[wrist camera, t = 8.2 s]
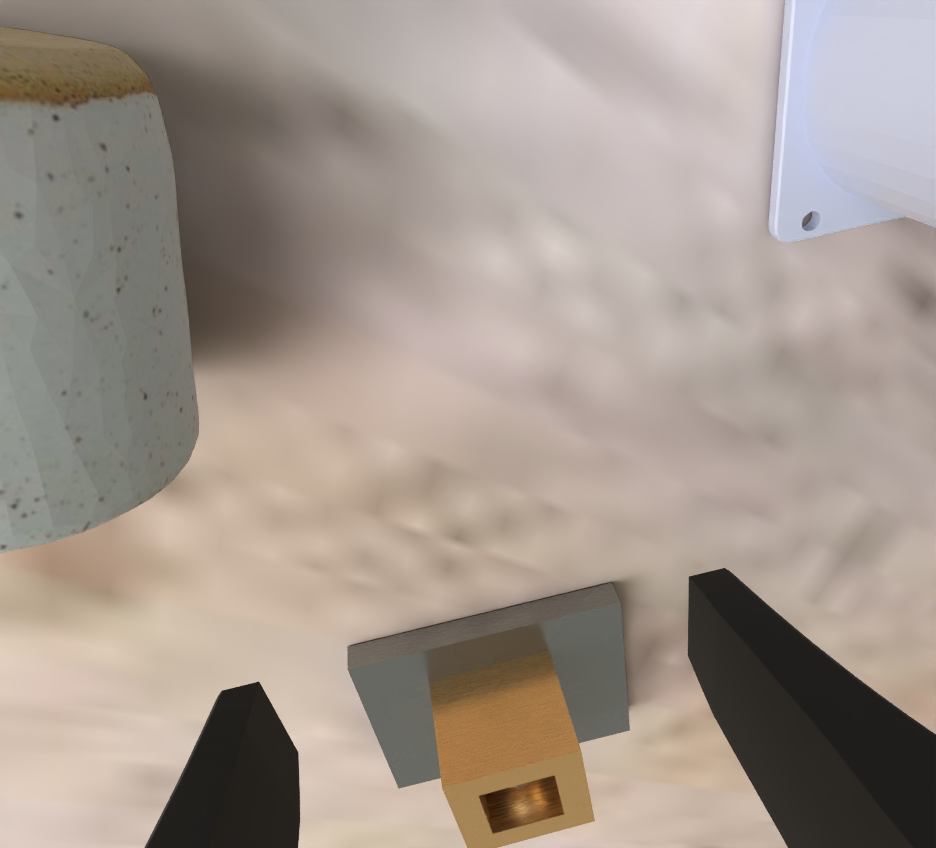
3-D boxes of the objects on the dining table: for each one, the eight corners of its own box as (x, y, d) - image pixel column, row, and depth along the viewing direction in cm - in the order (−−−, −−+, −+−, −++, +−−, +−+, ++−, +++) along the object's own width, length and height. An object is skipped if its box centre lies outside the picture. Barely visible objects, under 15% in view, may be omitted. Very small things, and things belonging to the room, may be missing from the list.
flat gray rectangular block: (611, 582, 25) (652, 672, 22) (621, 709, 30) (657, 800, 26) (347, 646, 25) (348, 748, 22) (397, 765, 29) (404, 865, 26)
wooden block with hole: (549, 650, 25) (580, 750, 22) (564, 721, 28) (594, 821, 24) (428, 682, 25) (442, 788, 22) (454, 750, 28) (470, 854, 24)
